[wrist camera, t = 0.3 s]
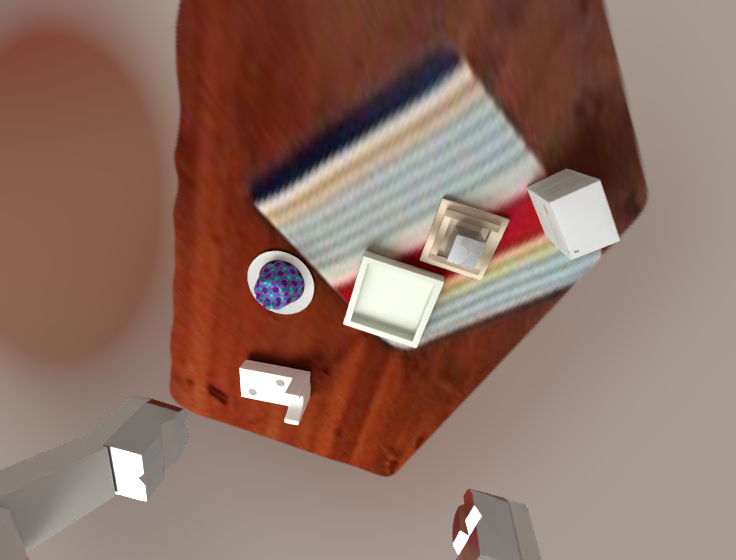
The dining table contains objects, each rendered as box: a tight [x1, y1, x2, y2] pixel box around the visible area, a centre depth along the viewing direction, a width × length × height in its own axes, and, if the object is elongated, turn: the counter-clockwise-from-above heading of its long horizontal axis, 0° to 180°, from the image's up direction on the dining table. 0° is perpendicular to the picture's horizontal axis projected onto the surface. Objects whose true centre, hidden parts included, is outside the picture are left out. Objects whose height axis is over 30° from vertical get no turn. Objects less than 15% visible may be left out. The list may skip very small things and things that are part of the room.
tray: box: [343, 251, 444, 348], centre depth 58 cm, size 13×13×2 cm
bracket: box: [240, 360, 311, 425], centre depth 67 cm, size 13×7×8 cm, turn 84°
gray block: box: [445, 225, 486, 270], centre depth 50 cm, size 4×4×5 cm
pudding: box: [248, 251, 314, 314], centre depth 59 cm, size 12×12×5 cm
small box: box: [527, 169, 620, 260], centre depth 45 cm, size 8×6×10 cm
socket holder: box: [420, 198, 510, 280], centre depth 53 cm, size 10×10×2 cm
